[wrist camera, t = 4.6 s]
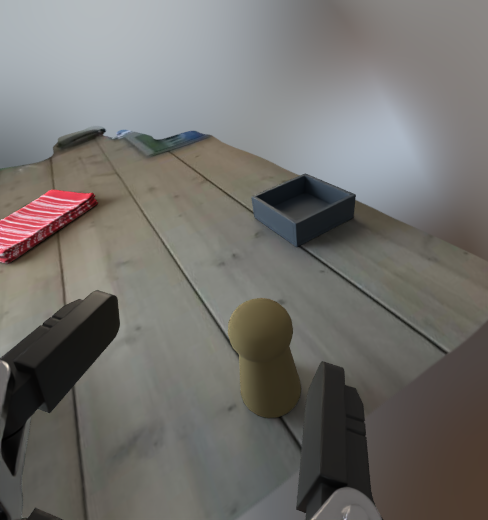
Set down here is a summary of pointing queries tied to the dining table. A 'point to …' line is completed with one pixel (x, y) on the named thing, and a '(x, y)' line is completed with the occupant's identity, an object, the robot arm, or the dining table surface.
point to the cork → (265, 357)
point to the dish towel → (40, 221)
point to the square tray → (303, 208)
